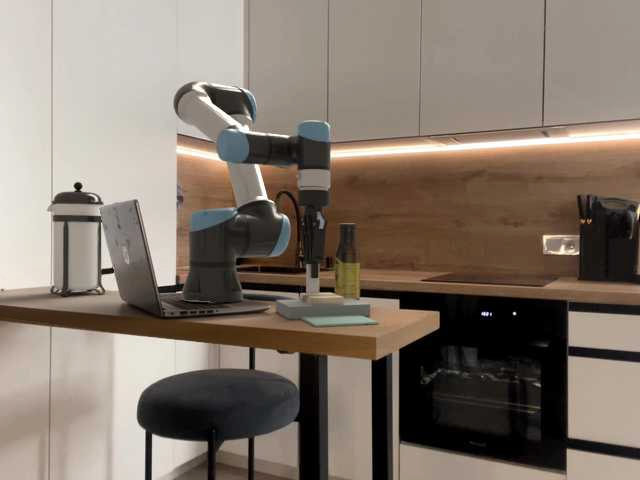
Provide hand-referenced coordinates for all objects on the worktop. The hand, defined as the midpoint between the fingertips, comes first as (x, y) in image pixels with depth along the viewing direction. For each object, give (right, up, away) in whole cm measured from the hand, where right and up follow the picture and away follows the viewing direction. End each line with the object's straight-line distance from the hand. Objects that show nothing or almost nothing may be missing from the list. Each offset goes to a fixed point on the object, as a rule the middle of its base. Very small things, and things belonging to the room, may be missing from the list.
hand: (312, 292), depth 135 cm
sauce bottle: (+8, -4, +9) cm, 13 cm away
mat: (+5, -4, -17) cm, 18 cm away
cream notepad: (+2, -2, -6) cm, 7 cm away
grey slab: (+2, -4, -7) cm, 8 cm away
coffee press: (-63, -3, +24) cm, 67 cm away
